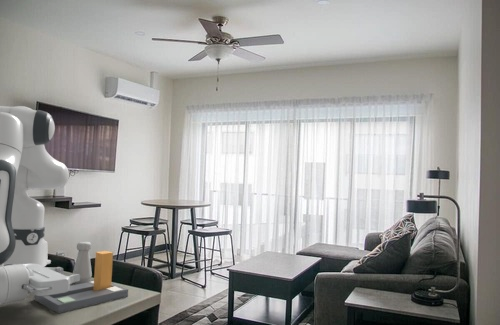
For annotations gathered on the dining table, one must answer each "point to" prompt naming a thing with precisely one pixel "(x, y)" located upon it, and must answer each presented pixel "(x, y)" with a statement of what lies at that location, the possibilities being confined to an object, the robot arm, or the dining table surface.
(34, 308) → the dining table surface
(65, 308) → the panel
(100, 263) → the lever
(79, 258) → the salt shaker
